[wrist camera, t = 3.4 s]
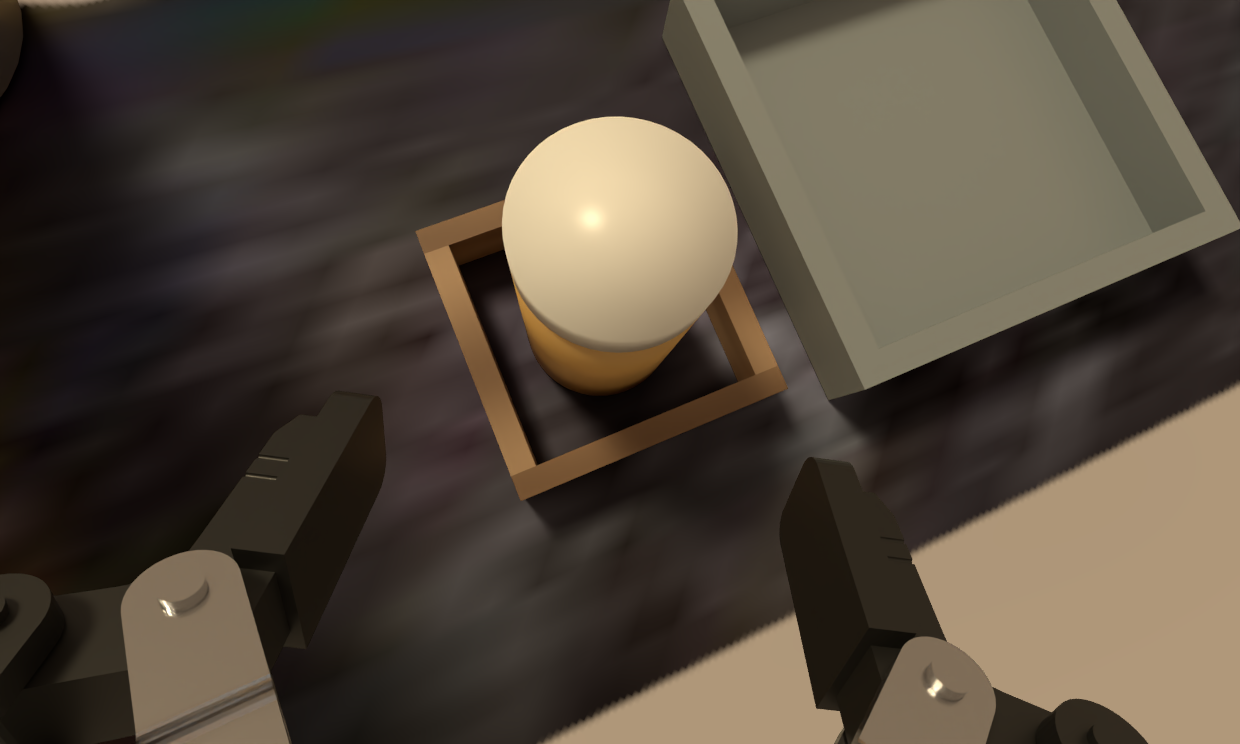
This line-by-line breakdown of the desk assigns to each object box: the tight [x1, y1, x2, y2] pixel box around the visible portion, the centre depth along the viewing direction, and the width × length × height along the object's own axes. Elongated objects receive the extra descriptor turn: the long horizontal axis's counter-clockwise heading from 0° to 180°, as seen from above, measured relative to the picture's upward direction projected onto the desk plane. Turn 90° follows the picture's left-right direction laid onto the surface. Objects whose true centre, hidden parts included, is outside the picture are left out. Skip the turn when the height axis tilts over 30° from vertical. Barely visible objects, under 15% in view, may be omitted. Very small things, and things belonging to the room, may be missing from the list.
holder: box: [415, 200, 788, 501], centre depth 21 cm, size 9×9×2 cm
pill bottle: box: [502, 117, 738, 396], centre depth 18 cm, size 5×5×9 cm
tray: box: [662, 0, 1240, 400], centre depth 23 cm, size 15×15×3 cm
